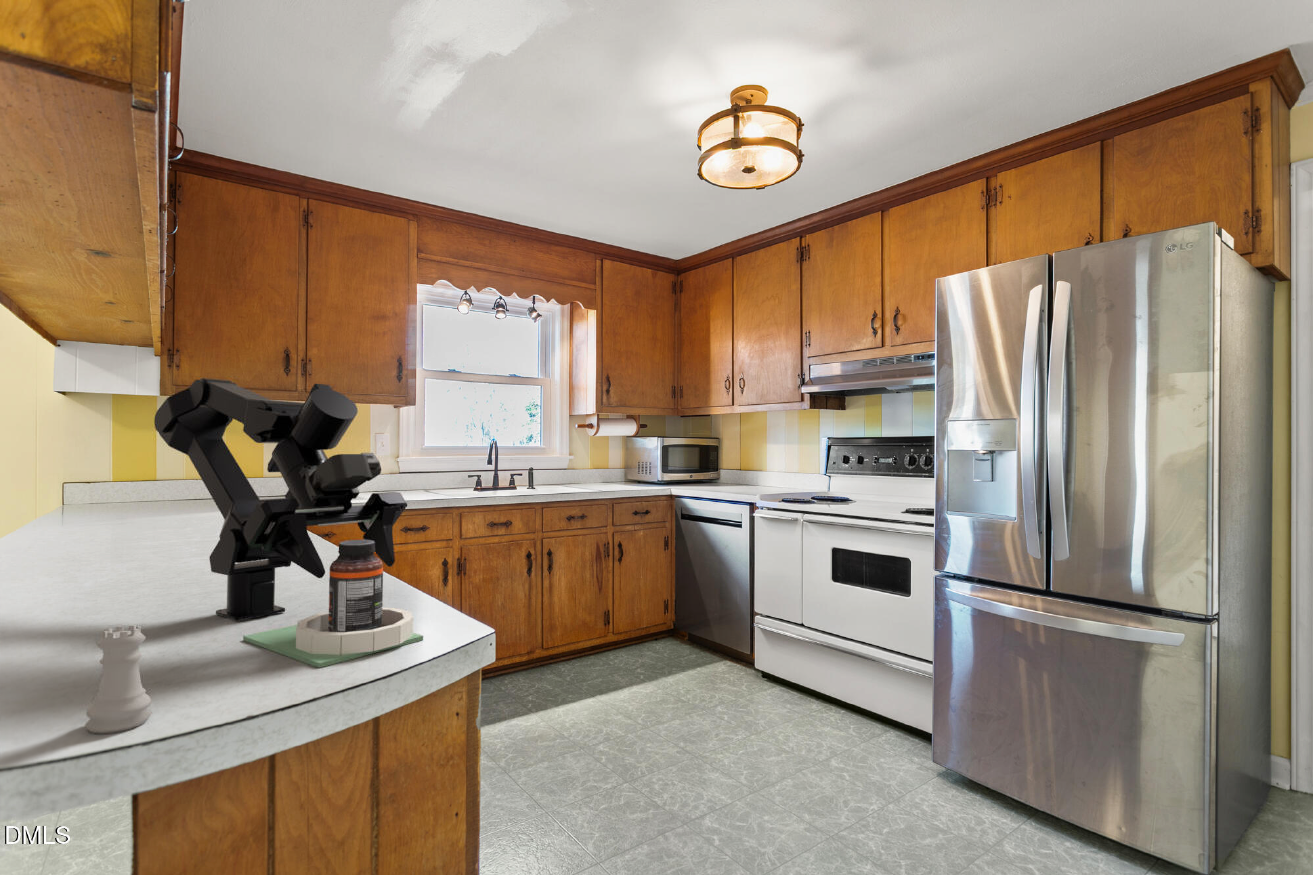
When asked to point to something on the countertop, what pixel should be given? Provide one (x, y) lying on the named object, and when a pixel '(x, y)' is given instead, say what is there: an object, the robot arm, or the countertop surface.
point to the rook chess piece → (119, 684)
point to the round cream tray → (353, 634)
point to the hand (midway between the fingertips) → (358, 569)
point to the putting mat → (286, 645)
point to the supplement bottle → (355, 588)
